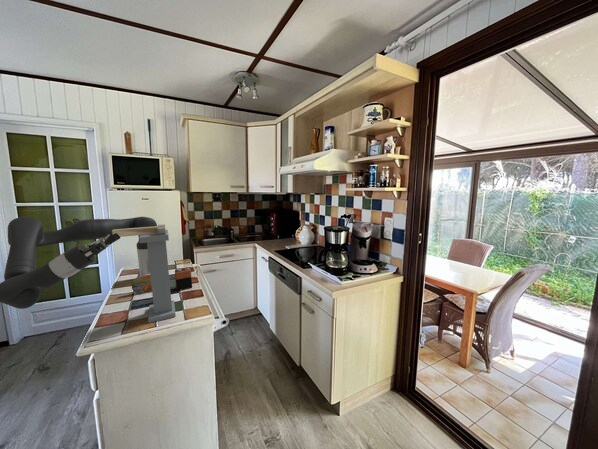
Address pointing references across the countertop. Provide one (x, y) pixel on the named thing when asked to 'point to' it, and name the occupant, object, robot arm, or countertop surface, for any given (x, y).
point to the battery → (183, 278)
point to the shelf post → (159, 277)
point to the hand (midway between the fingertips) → (120, 233)
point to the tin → (142, 284)
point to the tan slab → (141, 231)
